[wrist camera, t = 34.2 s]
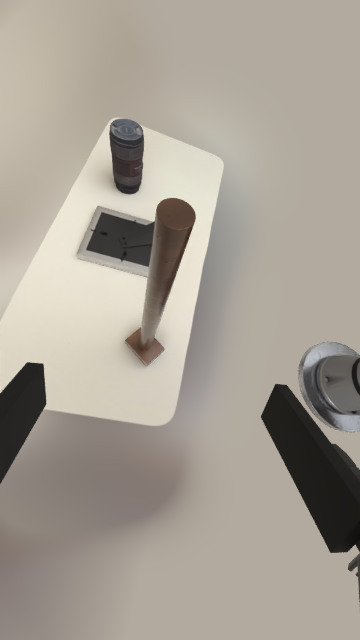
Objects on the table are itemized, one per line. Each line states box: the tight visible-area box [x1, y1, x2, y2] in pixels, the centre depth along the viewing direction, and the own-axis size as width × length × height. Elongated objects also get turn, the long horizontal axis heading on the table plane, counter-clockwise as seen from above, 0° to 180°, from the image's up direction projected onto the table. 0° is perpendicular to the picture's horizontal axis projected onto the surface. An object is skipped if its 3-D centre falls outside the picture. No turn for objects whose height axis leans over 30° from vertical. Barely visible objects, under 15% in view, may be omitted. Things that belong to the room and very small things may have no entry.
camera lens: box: [109, 119, 144, 194], centre depth 60 cm, size 8×8×15 cm
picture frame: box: [77, 206, 155, 277], centre depth 59 cm, size 16×3×21 cm
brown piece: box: [125, 198, 196, 366], centre depth 33 cm, size 7×5×40 cm
